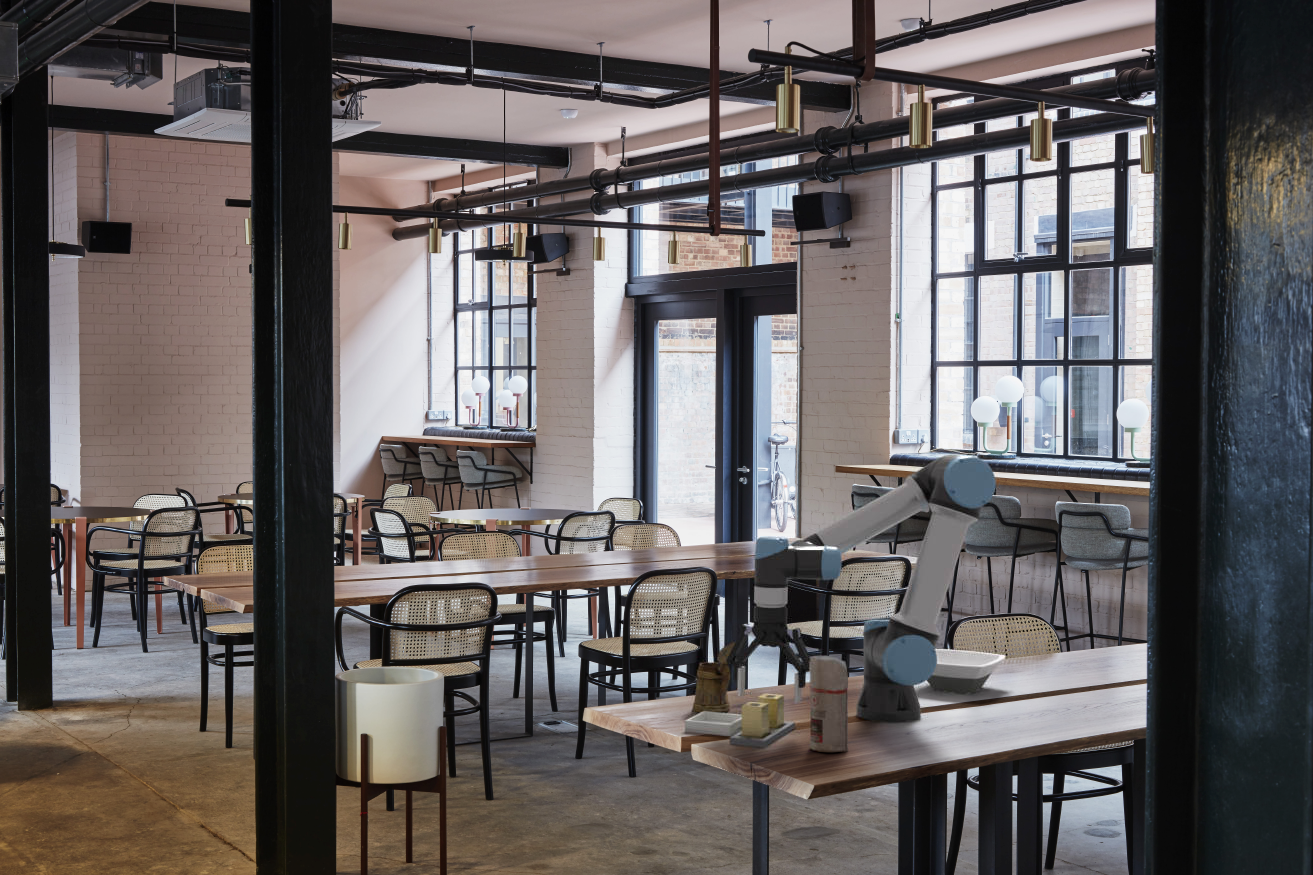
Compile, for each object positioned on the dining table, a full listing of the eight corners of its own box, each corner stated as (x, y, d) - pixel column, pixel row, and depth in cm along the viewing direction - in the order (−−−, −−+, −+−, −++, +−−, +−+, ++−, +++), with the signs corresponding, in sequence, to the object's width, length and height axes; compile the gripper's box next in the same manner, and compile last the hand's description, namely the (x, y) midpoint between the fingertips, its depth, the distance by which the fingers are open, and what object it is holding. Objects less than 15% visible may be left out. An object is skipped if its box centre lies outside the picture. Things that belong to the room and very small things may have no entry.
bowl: (1011, 686, 342) (1011, 654, 342) (984, 700, 322) (984, 667, 322) (932, 677, 353) (932, 647, 353) (901, 691, 334) (901, 659, 334)
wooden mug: (719, 718, 302) (719, 642, 302) (685, 709, 313) (685, 635, 313) (748, 714, 307) (748, 639, 307) (713, 704, 318) (713, 632, 318)
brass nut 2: (783, 730, 290) (783, 694, 290) (777, 734, 286) (777, 698, 286) (764, 728, 292) (764, 692, 292) (757, 732, 288) (757, 696, 288)
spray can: (805, 745, 276) (805, 652, 276) (842, 744, 276) (842, 652, 276) (813, 754, 267) (813, 659, 267) (852, 754, 268) (852, 658, 268)
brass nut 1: (768, 739, 281) (768, 702, 281) (761, 744, 277) (761, 706, 277) (749, 737, 283) (749, 701, 283) (741, 742, 279) (741, 705, 279)
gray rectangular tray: (794, 728, 292) (794, 721, 292) (764, 747, 274) (764, 740, 274) (761, 724, 295) (761, 718, 295) (729, 743, 277) (729, 736, 277)
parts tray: (747, 726, 294) (747, 715, 294) (730, 736, 284) (730, 724, 284) (704, 721, 299) (703, 710, 299) (685, 731, 289) (685, 720, 289)
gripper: (828, 607, 287) (827, 701, 287) (725, 599, 298) (724, 690, 298) (818, 610, 280) (816, 707, 280) (713, 603, 291) (711, 696, 291)
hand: (769, 698), depth 289 cm, fingers open, 13 cm apart
